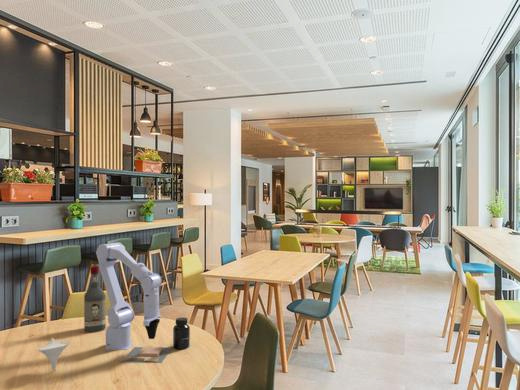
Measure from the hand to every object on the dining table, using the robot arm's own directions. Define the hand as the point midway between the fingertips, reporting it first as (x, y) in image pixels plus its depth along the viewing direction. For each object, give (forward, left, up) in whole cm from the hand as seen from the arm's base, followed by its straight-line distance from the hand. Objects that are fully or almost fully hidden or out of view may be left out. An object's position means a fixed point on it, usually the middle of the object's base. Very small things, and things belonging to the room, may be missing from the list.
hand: (151, 338), depth 164 cm
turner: (-2, -8, -6) cm, 10 cm away
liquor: (-37, +29, -6) cm, 48 cm away
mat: (-1, -3, -6) cm, 7 cm away
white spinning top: (-30, -19, -6) cm, 36 cm away
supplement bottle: (+10, +6, -6) cm, 14 cm away
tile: (0, +2, -5) cm, 5 cm away
